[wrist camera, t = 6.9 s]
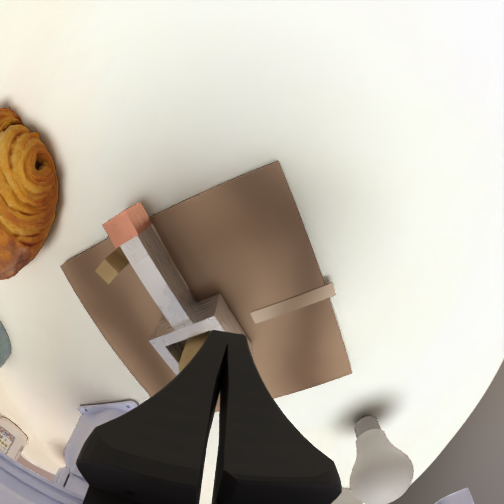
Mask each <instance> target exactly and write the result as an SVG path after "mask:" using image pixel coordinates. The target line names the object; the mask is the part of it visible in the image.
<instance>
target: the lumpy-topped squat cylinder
mask: <svg viewBox="0 0 504 504" xmlns="http://www.w3.org/2000/svg"><path fill="white" fill-rule="evenodd" d="M331 504H363V503H362V502H361V501H359V500H358V499H357V498H356V497H355V496H354V495H353V493H352V491H351V489H348V488H342V493H341V494H340V495H339V496H338V498H337V499H336V500H334V501H333V502H332V503H331Z"/></svg>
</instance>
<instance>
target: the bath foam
mask: <svg viewBox="0 0 504 504" xmlns="http://www.w3.org/2000/svg"><path fill="white" fill-rule="evenodd" d="M26 443H27V437H26V435H25V434H24V433H23V432H22V431H21V429H20V428H18V427H17V426H16V425H15V424H14V423H13V422H11V421H10V420H8V419H6V418H4V417H2V418H0V451H1V452H3V453H4V454H6V455H7V456H9V457H10V458H12V459H13V460H15V461H17V459H18V457H19V456H20V454H21V452H22V450H23V448H24V446H25V445H26Z"/></svg>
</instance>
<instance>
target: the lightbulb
mask: <svg viewBox="0 0 504 504" xmlns="http://www.w3.org/2000/svg"><path fill="white" fill-rule="evenodd" d="M355 431H356V432H355V433H356V437H357V440H356V447H357V457H356V461H355V464H354V466H353V469H352V473H351V476H350V488H351V491H352V493H353V495H354V496H355V497H356V498H357V499H358V500H359V501H361V502H363V503H365V504H387V503H390V502H392V501H394V500H396V499H398V498H399V497H400V496H401V495H402V494H404V492H405V491H406V490H407V489H408V487H409V486H410V484H411V481H412V478H413V472H414V470H413V465H412V462H411V460H410V459H409V457H408V456H407V455H406V454H405V453H403V452H402V451H401V450H399V449H398V448H396V447H394V446H393V445H392V444H391V443H390V442H389V440H388V438H387V437H386V435H385V432H384V431H383V430H381V428H380V425H379V423H378V421H377V419H376V418H375V417H373V416H365V417H362V418H361V419H360V420H359V421H357V423H356V424H355Z"/></svg>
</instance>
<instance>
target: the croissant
mask: <svg viewBox="0 0 504 504" xmlns="http://www.w3.org/2000/svg"><path fill="white" fill-rule="evenodd" d="M57 201H58V179H57V175H56V170H55V165H54V162H53V159H52V157H51V155H50V154H49V152H48V151H47V148H46V146H45V145H44V144H43V143H42V142H41V141H40V136H39V133H38V132H34V133H32V132H30V131H29V129H28V128H27V127H26V126H24V124H23V123H22V122H21V120H20V118H19V116H17V115H16V114H14V112H13V111H10V108H7V109H4V108H1V109H0V280H3V279H9V278H10V277H13V276H15V275H16V274H17V273H18V272H19V270H21V269H22V268H23V267H24V266H25V265H27V264H28V263H29V262H30V261H31V260H33V259H34V258H35V256H36V255H37V254H38V252H39V251H40V249H41V248H42V246H43V243H44V242H45V240H46V238H47V236H48V233H49V231H50V228H51V225H52V224H53V222H54V219H55V208H56V205H57Z"/></svg>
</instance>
